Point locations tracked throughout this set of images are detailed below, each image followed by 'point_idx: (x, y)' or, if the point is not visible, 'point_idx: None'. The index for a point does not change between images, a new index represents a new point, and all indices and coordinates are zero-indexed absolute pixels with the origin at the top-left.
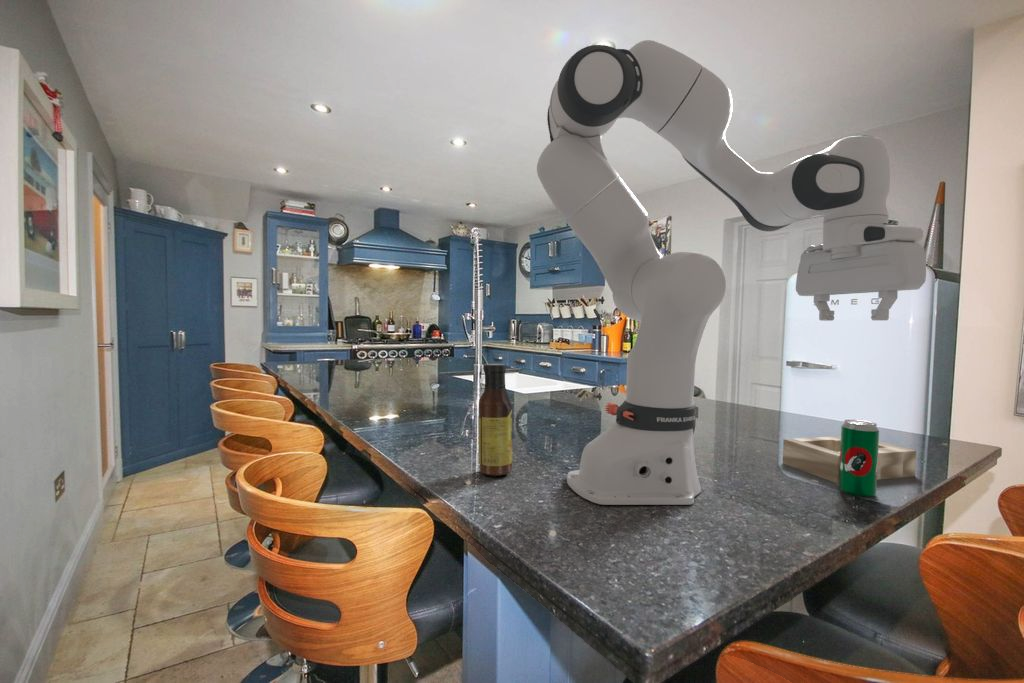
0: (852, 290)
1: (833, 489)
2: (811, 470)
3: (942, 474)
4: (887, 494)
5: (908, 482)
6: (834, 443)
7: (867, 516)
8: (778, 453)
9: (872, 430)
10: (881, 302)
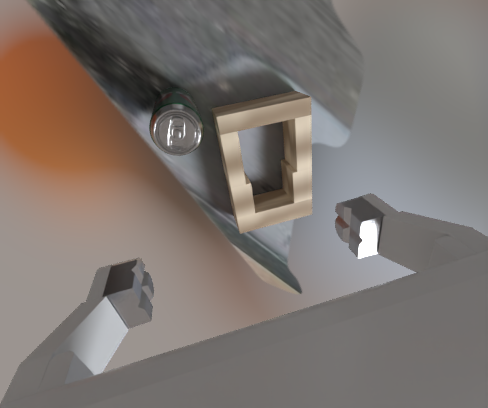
0: (222, 341)
1: (189, 86)
2: (250, 101)
3: (242, 247)
4: None
5: (218, 198)
6: (292, 170)
7: (86, 53)
8: (337, 119)
9: (151, 133)
10: (68, 332)
